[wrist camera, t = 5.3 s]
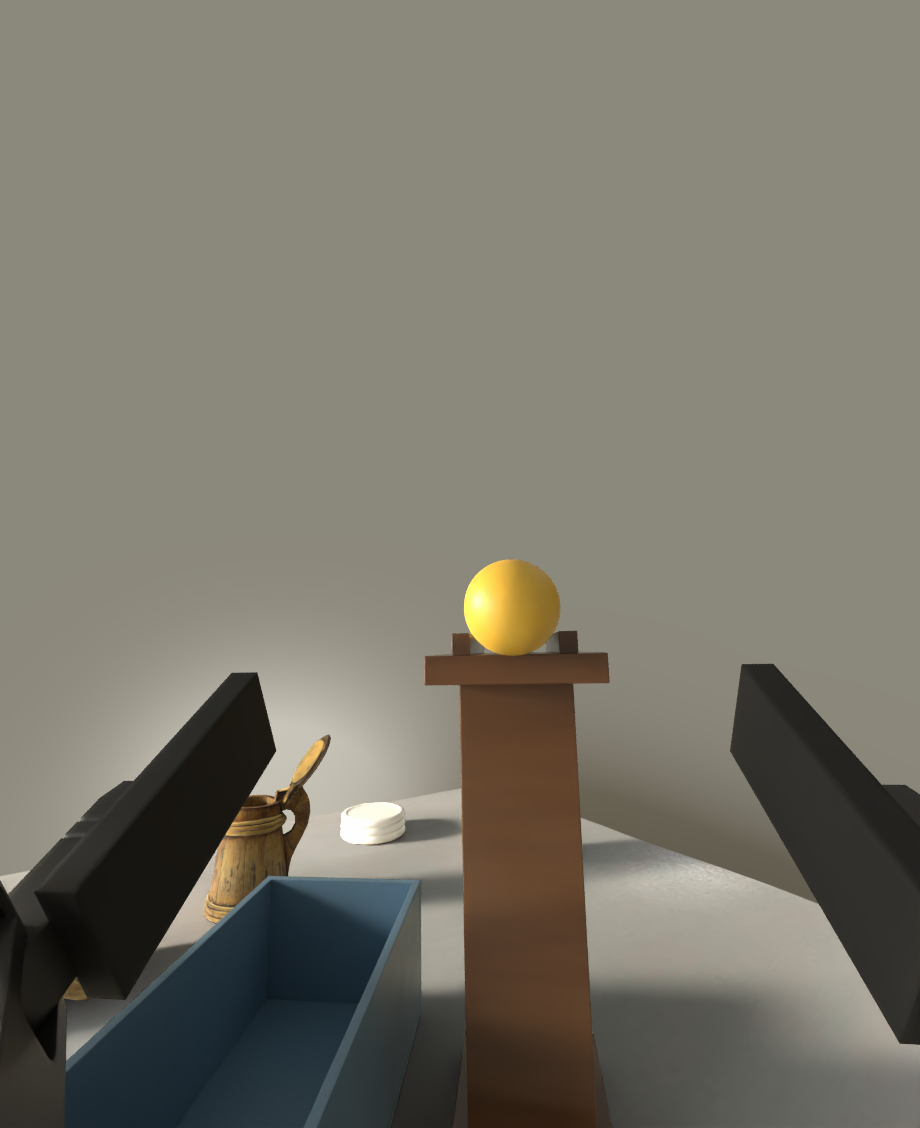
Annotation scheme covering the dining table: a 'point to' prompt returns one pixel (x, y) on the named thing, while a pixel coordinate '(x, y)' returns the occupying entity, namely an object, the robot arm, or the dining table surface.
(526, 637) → the yellow capsule
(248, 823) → the wooden mug
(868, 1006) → the dining table surface
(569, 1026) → the display stand
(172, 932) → the dining table surface
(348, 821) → the coaster
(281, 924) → the open box
